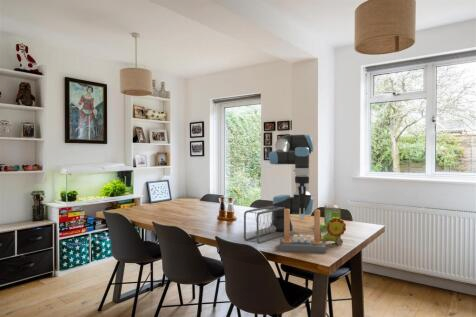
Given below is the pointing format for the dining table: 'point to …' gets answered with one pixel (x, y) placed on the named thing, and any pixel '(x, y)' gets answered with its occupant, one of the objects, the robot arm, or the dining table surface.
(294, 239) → the breaker paddles
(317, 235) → the post
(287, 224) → the post
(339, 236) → the toy lion
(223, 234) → the dining table surface
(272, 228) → the newton's cradle
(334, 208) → the tea box
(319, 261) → the dining table surface
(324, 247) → the breaker board
